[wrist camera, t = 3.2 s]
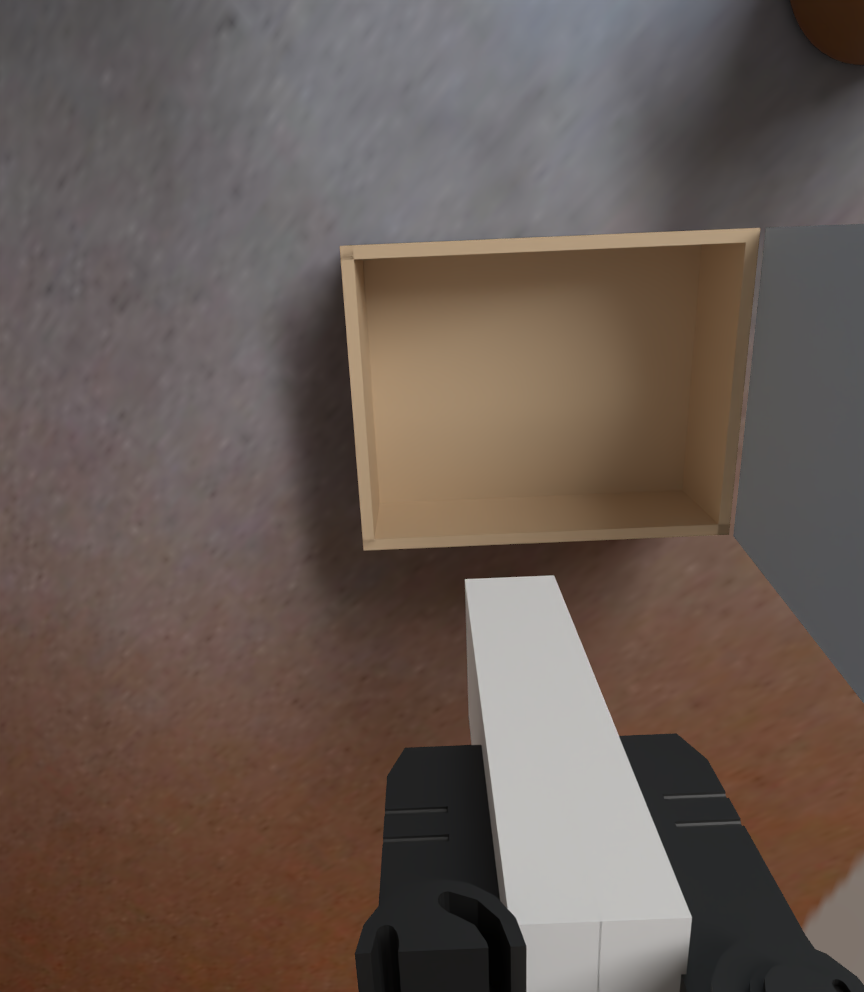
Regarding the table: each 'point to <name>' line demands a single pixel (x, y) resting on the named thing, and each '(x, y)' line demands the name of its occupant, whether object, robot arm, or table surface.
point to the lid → (809, 436)
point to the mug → (833, 27)
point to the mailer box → (548, 386)
